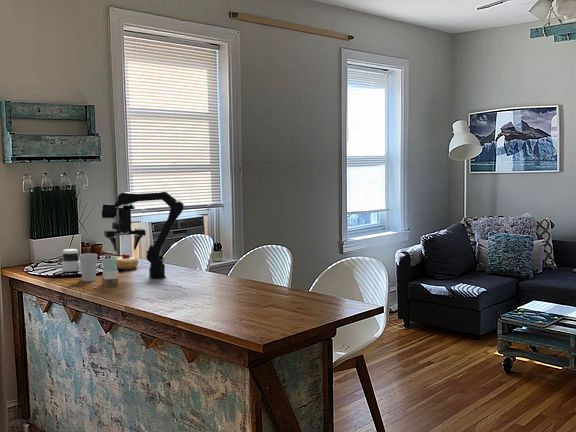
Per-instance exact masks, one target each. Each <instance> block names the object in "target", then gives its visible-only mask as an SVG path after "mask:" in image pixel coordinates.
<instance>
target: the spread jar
mask: <svg viewBox="0 0 576 432" xmlns="http://www.w3.org/2000/svg"><path fill="white" fill-rule="evenodd" d="M78 253H79V251H78V248H65V249H63V250H62V257H61V261H62V262H61V263H62V265H61V266H62V269H61V270H62V274H63V273H68V274H69V273H77V274H79V272H80V273H81V263H80V256H79V254H78Z"/></svg>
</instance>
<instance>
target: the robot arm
mask: <svg viewBox="0 0 576 432" xmlns="http://www.w3.org/2000/svg"><path fill="white" fill-rule="evenodd" d="M147 201H163V202H164V203H165V204H166V206H168V207H169V208H170V209H169V213H168V217H167V219H166V222H165V223H164V226H163V227H162V229H161V232H160V233H159V235H158V237H157V239H156V241H155V243H153V244H152V243H150V245H149V247H148V249H147V251H146V252H145V253H146V260H147V261H148V262H149V263H150V267H148V269H149V270H148V272H149V274H148V275H149V277H150V278H151V279H153V278H155V279H163V278H162V277H165V278H166V276H167V275H165V273H166V272H165V271H166V269H165V267H166V266H165V265H166V264H165V263H164V262H165V258H164V257H163V256H162V255H161V253H162V249H163V246H164V243H165V242H166V239H167V238H168V235H169V233H170V232H171V230H172V227H173V225H174V224H175V222H176V220H177V219H178V218H179V216H180V215H181V214H182V213H183V210H184V209H185V205H184V203H183V202H182V201H181V200H177V199H176V198H175V197H173V196H172V195H171V194H170V193H168V192H167V191H165V190H163V191H156V192H141V193H140V192H139V193H136V192H133V191H132V192H131V191H130V192H129V191H123V192H121V193H120V194H118V196H117V201H116V202H115V203H114V204H112V203H111V204H109V203H104V204H102V211H101V217H102V219H115V218H116V217H118V220H117V222H115V221H113V222H112V223H111V227H112V228H111V229H105V230H104V232H103V237H105V238H107V239H108V240H109V241H110V242H111V245H112V246H113V250H114V252H117V237H115V236H127V235H128V236H129V235H130V236H131V235H133V239H134V240H133V250H134V251H136V249H137V246H138V244H139V243H140V241H141V238H143V237H144V236H146V232H147V231H146V229H144V228H135V229H134V230H133V229H132V210H135V209H136V207H135V206H134V205H133V203H137V202H147ZM129 204H130V205H129ZM121 206H123V207H121ZM115 230H116V231H115Z"/></svg>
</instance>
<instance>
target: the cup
mask: <svg viewBox="0 0 576 432" xmlns="http://www.w3.org/2000/svg"><path fill="white" fill-rule="evenodd" d="M78 256H79V261H80V263H81V272H80V273H81V281H82V282H95V281H97V280H96V279H97V264H98V263H97V261H98V254H97V253H90V252H89V253H81V254H78Z"/></svg>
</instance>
